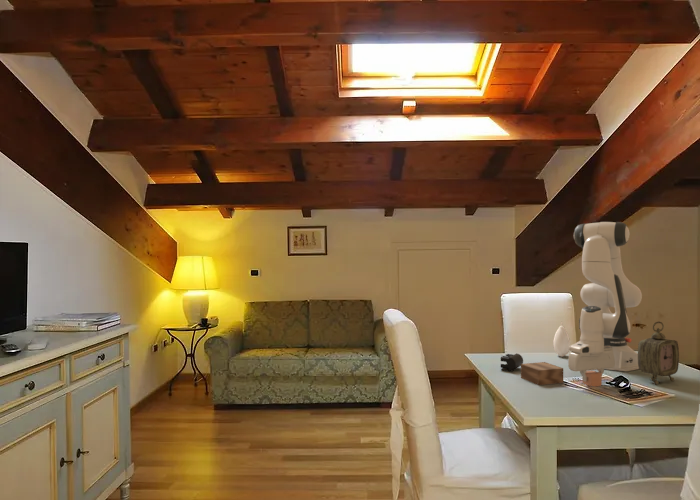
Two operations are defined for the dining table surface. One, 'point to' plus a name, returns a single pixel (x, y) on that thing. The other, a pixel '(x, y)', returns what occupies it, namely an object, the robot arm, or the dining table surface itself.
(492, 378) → the dining table surface
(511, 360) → the end cap
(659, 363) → the tabletop clock
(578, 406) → the dining table surface
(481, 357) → the dining table surface
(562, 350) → the white teardrop ornament
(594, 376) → the terracotta block
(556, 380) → the walnut block
